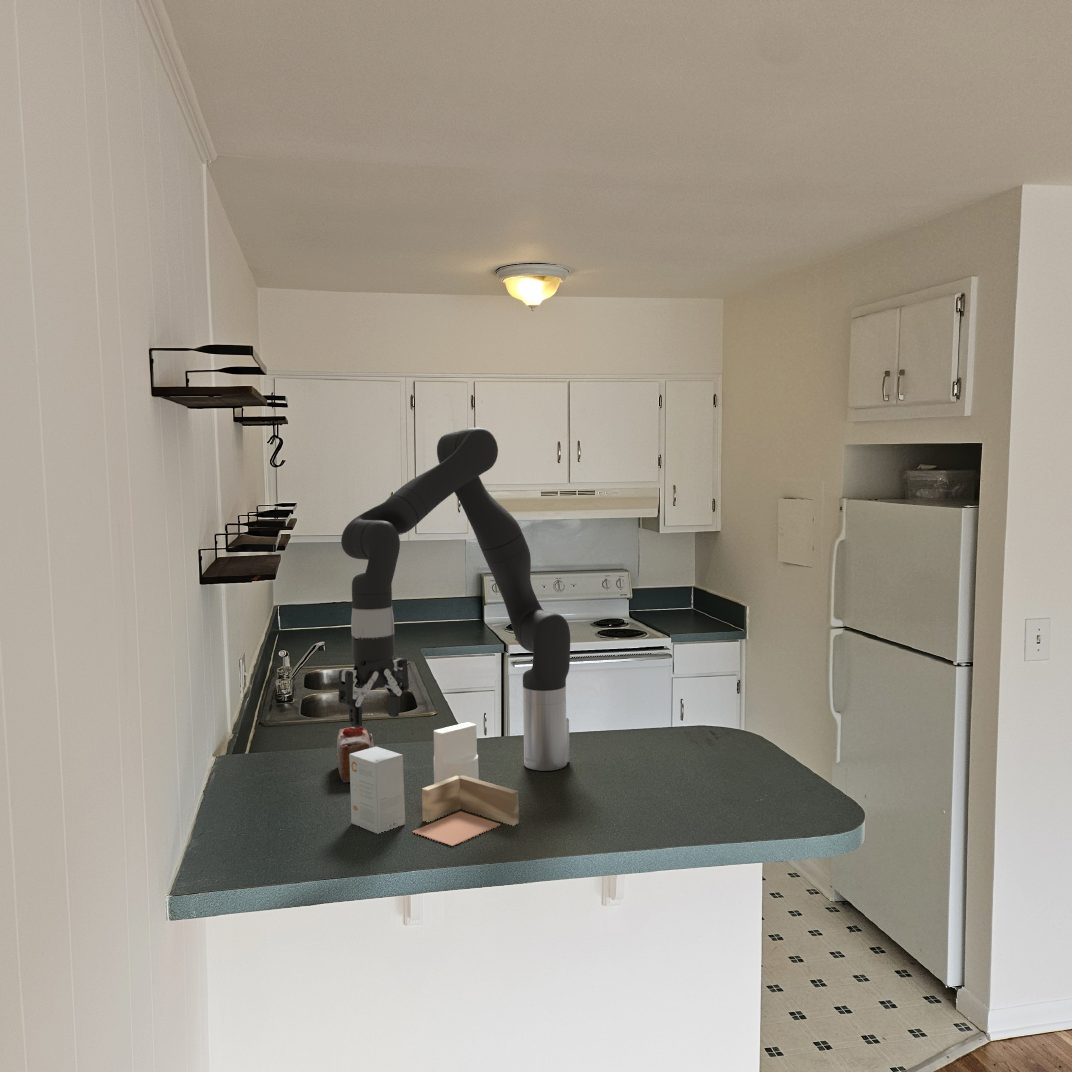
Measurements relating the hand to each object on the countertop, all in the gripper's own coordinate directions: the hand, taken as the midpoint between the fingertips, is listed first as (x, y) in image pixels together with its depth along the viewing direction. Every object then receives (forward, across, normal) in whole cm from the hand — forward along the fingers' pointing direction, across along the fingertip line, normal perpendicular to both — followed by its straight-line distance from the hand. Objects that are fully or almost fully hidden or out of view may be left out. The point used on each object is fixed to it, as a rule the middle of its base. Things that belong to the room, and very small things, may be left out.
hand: (375, 721), depth 167 cm
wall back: (+19, -15, +13) cm, 27 cm away
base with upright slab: (+19, -23, -3) cm, 30 cm away
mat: (+19, -7, +13) cm, 24 cm away
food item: (+19, -16, -26) cm, 36 cm away
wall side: (+19, -11, +6) cm, 22 cm away
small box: (+19, 0, 0) cm, 19 cm away
